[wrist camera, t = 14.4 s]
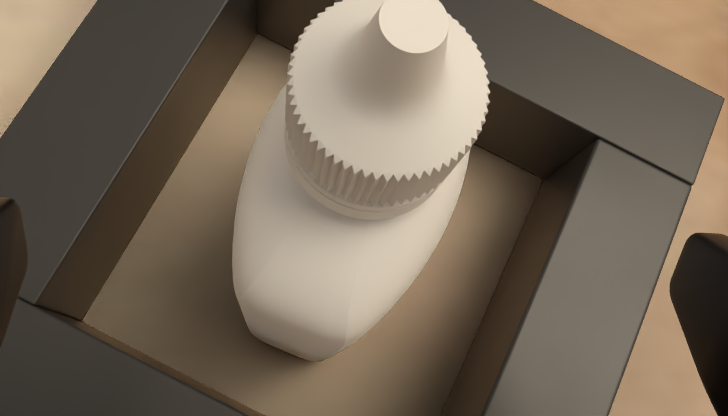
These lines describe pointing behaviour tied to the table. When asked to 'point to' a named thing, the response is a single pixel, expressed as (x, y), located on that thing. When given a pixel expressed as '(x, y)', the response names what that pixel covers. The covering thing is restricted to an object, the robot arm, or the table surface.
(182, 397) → the holder
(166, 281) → the table surface
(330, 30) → the eye dropper bottle
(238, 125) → the table surface
